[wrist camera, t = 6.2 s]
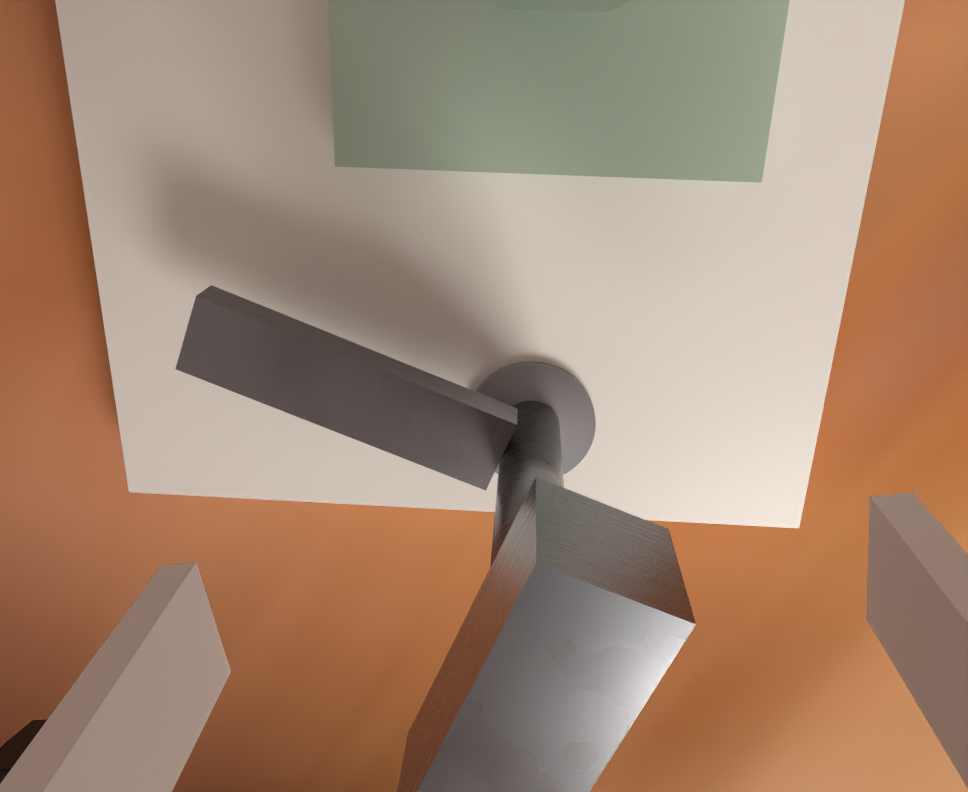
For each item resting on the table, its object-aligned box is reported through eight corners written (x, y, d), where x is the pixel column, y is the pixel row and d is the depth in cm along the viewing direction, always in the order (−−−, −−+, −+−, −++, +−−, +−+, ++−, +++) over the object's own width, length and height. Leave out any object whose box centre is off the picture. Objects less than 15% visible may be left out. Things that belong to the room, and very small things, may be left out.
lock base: (780, 495, 26) (801, 533, 24) (156, 462, 27) (124, 496, 25) (960, -468, 18) (1019, -540, 15) (31, -474, 18) (-35, -544, 16)
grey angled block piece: (617, 349, 22) (696, 624, 12) (527, 527, 24) (522, 896, 14) (253, 198, 21) (-31, 344, 10) (194, 398, 23) (-92, 687, 13)
